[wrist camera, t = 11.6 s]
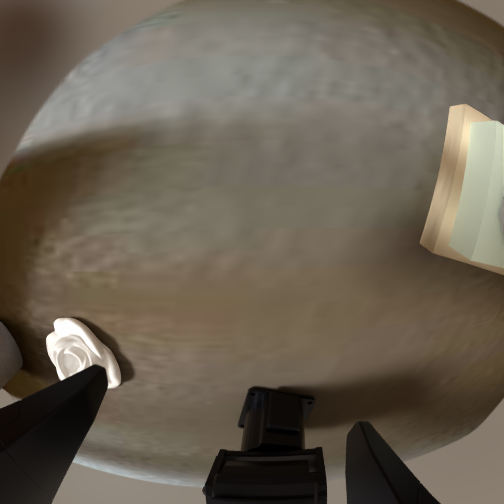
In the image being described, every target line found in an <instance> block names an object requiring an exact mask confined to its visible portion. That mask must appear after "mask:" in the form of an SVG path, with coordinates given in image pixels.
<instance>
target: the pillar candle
mask: <svg viewBox="0 0 504 504" xmlns="http://www.w3.org/2000/svg"><path fill="white" fill-rule="evenodd" d="M22 366H23V359H22V356H21V352H20V350H19V348H18V345H17V344H16V342H15V340H14V338H13V337H12V335H11V334H10V332H9V331H8V330H7V328H6V327H5V326H4V325H3V323H2V322H1V321H0V389H1V388H2V387H3V386H4V385H5V384H6V383H7V382H8V381H9V380H10V379H11V377H13V376H14V375H15V374H16V372H18V371H19V370H20V369H21V367H22Z"/></svg>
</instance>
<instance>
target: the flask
mask: <svg viewBox="0 0 504 504" xmlns="http://www.w3.org/2000/svg"><path fill="white" fill-rule="evenodd" d="M498 216H499V219H500V223H501V227H502V230H503V234H504V197H503V201H502V204H501V207H500V211H499V214H498Z"/></svg>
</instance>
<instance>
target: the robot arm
mask: <svg viewBox="0 0 504 504" xmlns="http://www.w3.org/2000/svg"><path fill="white" fill-rule="evenodd" d="M107 388H108V378H107V372H106V369H105V368H104V367H102V366H100V365H98V364H94V365H92V366H90V367H88V368H86V369H84V370H81V371H79V372H77V373H75V374H73V375H71V376H69V377H67V378H65V379H63V380H61V381H59V382H57V383H55V384H53V385H51V386H49V387H47V388H45V389H43V390H40V391H38V392H36V393H34V394H32V395H30V396H28V397H26V398H24V399H22V400H21V401H20V400H19V401H17V402H15V403H13V404H11V405H8V406H6V407H3V408H0V504H52V501H53V499H54V497H55V495H56V493H57V491H58V488H59V487H60V484H61V482H62V481H63V479H64V477H65V475H66V473H67V471H68V469H69V467H70V465H71V463H72V461H73V459H74V457H75V455H76V453H77V451H78V450H79V448H80V446H81V444H82V442H83V440H84V438H85V437H86V435H87V433H88V431H89V429H90V427H91V426H92V424H93V422H94V420H95V417H96V415H97V413H98V410H99V408H100V405H101V403H102V400H103V398H104V395H105V393H106V391H107ZM309 401H310V402H309ZM314 404H315V398H314V397H310V396H302V395H295V394H288V393H281V392H275V391H269V390H263V389H258V388H250V389H249V390H248V392H247V396H246V399H245V402H244V405H243V409H242V412H241V415H240V418H239V421H238V427H239V428H243V429H244V431H243V438H242V445H241V451H228V450H226V449H220V451H219V453H218V456H216V458H215V461H214V463H213V466H212V468H211V471H210V473H209V476H208V478H207V481H206V483H205V486H204V487H203V490H202V491H203V494H204V495H205V496H206V503H207V504H327V481H326V473H325V465H324V458H323V451H322V447H316V448H315V449H305V433H304V422H305V420H306V419H307V417H308V415H309V413H310V412H311V410H312V408H313V406H314ZM345 473H346V490H347V504H441V503H439V502H438V501H437V500H436V499H435V498H434V497H433V496H432V495H431V494H430V493H429V491H428V490H427V489H426V488H425V487H424V486H423V485H422V484H421V483H420V481H419V480H418V479H417V478H416V477H415V476H414V474H413V473H412V472H411V471H410V470H409V469H408V467H407V466H406V465H405V464H404V463H403V462H402V460H401V459H400V458H399V457H398V456H397V455H396V453H395V452H394V451H393V450H392V449H391V447H390V446H389V445H388V444H387V443H386V442H385V440H384V439H383V438H382V437H381V436H380V434H379V433H378V432H377V431H376V430H375V429H374V427H373V426H372V425H371V424H370V423H369V422H368V421H358V422H356V424H355V425H354V426H353V428H352V429H351V430H350V432H349V433H348V435H347V446H346V471H345Z"/></svg>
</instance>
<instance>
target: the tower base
mask: <svg viewBox="0 0 504 504" xmlns="http://www.w3.org/2000/svg"><path fill="white" fill-rule="evenodd" d="M483 121H492V120H491V119H489V118H488V117H486V116H485V115H483V114H481V113H480V112H478V111H477V110H475V109H473V108H472V107H470V106H469V105H467V104H462V105H456V106H451V107H450V110H449V118H448V125H447V132H446V138H445V144H444V149H443V155H442V160H441V165H440V169H439V174H438V178H437V183H436V187H435V191H434V195H433V199H432V202H431V206H430V210H429V213H428V217H427V220H426V224H425V227H424V230H423V233H422V237H421V240H420V243H419V244H421V245H422V246H424V247H425V248H426V249H428V250H429V251H430V252H432V253H434V254H438V255H441V256H444V257H448V258H451V259H454V260H458V261H461V262H464V263H467V264H471V265H474V266H477V267H480V268H483V269H486V270H490V271H493V272H496V273H499V274H502V275H504V268H501V267H497V266H493V265H488V264H484V263H480V262H475V261H471V260H469V259H468V258H467V257H465V256H464V255H462V254H461V253H459V252H457V251H456V250H454V249H453V248H451V247H450V246H448V245H449V241H450V238H451V234H452V230H453V226H454V222H455V218H456V214H457V210H458V205H459V201H460V196H461V191H462V185H463V180H464V174H465V168H466V161H467V153H468V145H469V135H470V123H471V122H483Z"/></svg>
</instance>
